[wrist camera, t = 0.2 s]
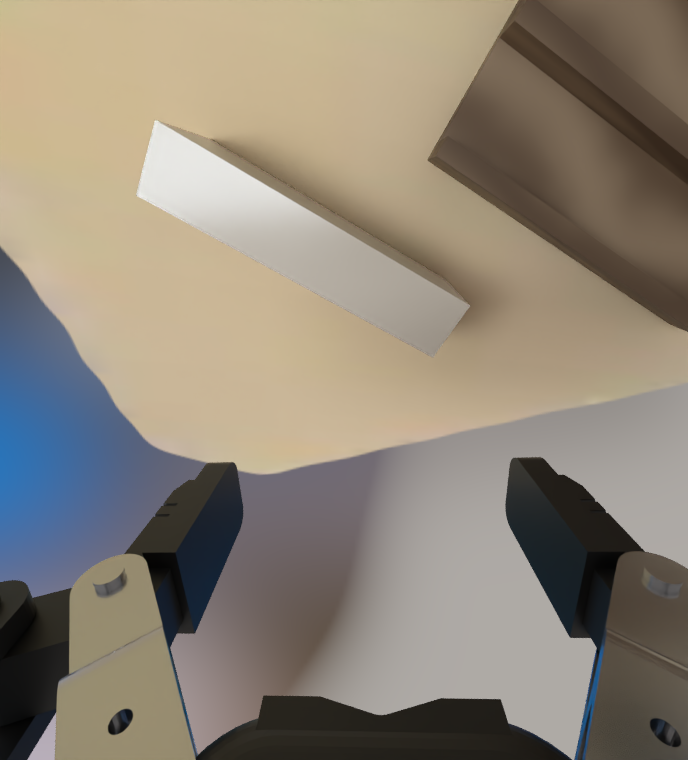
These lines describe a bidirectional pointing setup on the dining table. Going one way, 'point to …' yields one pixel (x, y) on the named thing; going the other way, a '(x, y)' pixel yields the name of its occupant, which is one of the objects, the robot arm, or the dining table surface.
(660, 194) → the rack
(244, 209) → the gray rectangular block
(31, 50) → the dining table surface
